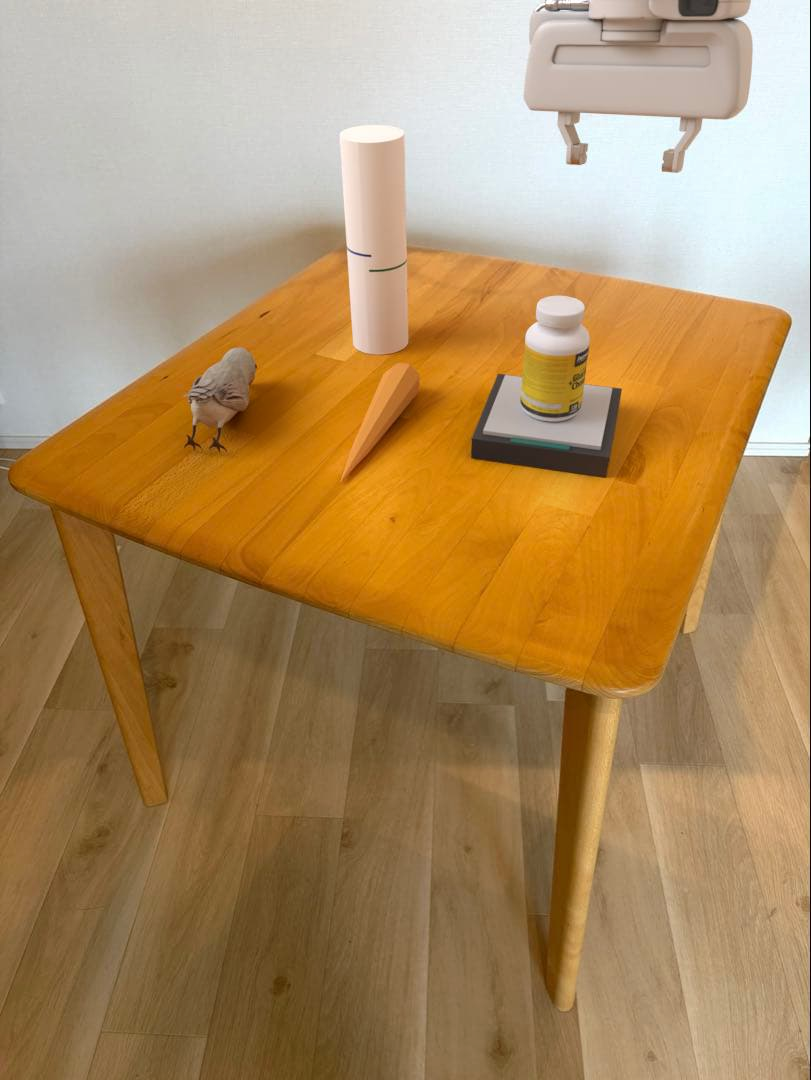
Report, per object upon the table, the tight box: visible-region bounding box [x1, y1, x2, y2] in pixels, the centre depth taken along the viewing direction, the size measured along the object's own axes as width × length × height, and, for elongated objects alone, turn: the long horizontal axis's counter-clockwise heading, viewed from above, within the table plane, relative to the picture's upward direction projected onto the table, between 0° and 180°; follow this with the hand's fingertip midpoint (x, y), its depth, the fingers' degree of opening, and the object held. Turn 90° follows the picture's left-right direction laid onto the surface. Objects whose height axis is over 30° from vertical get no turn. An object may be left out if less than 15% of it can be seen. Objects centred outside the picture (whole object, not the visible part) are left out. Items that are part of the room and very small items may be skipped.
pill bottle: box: [520, 295, 591, 422], centre depth 87 cm, size 6×6×12 cm
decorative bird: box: [182, 346, 258, 454], centre depth 94 cm, size 5×16×8 cm, turn 170°
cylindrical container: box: [339, 124, 409, 356], centre depth 102 cm, size 7×7×25 cm
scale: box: [470, 373, 623, 478], centre depth 92 cm, size 14×14×3 cm
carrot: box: [339, 362, 421, 484], centre depth 92 cm, size 20×4×4 cm, turn 160°
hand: (622, 167), depth 81 cm, fingers open, 8 cm apart
